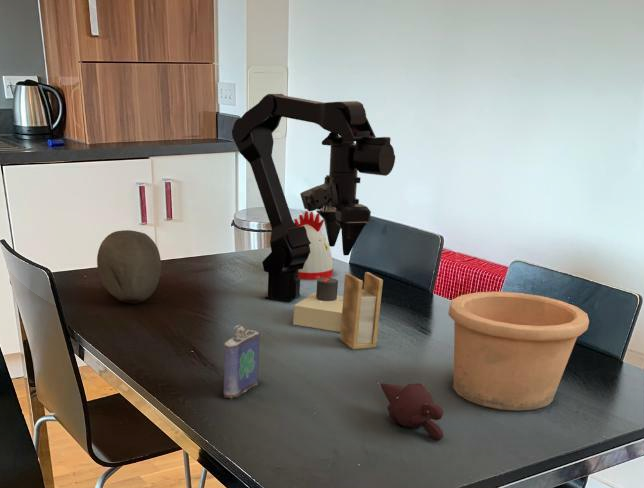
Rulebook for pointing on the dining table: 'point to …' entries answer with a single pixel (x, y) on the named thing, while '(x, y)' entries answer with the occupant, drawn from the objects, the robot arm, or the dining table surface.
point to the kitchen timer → (315, 250)
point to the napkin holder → (361, 311)
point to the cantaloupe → (129, 265)
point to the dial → (327, 289)
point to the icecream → (413, 407)
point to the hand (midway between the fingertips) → (338, 250)
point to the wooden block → (319, 313)
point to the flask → (241, 362)
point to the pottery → (512, 347)
